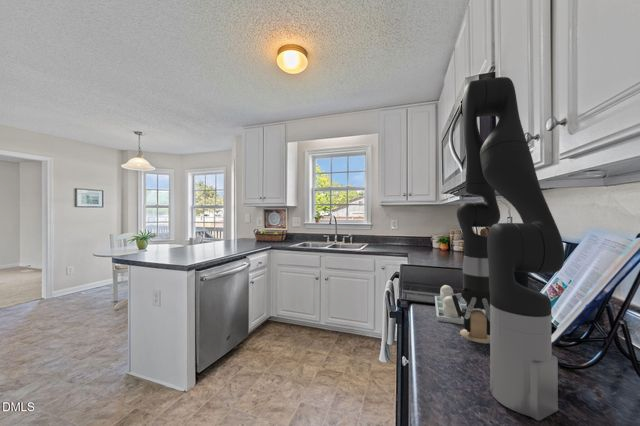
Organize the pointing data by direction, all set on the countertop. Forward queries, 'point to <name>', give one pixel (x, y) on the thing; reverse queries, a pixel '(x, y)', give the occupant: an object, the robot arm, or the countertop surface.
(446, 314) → the cream egg
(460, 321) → the egg carton
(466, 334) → the birch coaster
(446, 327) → the countertop surface
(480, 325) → the brown egg
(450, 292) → the cream egg
